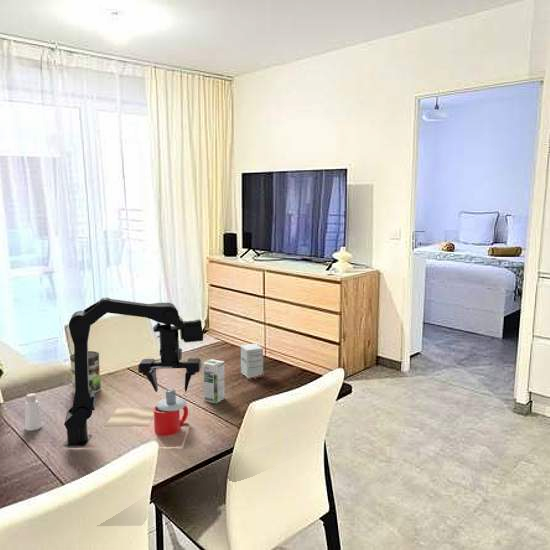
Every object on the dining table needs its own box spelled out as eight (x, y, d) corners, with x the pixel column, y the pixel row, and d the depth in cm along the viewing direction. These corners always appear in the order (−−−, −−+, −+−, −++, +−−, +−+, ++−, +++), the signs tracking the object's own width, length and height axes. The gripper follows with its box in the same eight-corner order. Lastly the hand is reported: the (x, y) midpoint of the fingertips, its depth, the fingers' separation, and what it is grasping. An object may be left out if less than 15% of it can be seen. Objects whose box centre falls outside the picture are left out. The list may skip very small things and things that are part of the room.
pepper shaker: (38, 421, 159) (35, 389, 157) (46, 426, 155) (43, 394, 154) (21, 427, 154) (18, 395, 153) (28, 432, 151) (26, 399, 149)
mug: (195, 425, 156) (194, 402, 154) (164, 439, 147) (163, 415, 145) (179, 418, 161) (179, 396, 159) (149, 431, 152) (148, 408, 150)
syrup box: (203, 401, 174) (202, 363, 172) (212, 395, 179) (211, 358, 177) (216, 404, 172) (215, 365, 169) (225, 398, 177) (224, 360, 175)
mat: (148, 427, 154) (148, 425, 154) (104, 427, 154) (104, 426, 154) (158, 408, 168) (157, 407, 168) (117, 408, 168) (117, 407, 168)
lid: (183, 411, 148) (182, 396, 147) (153, 411, 148) (153, 397, 147) (187, 399, 157) (187, 385, 156) (159, 399, 157) (159, 385, 156)
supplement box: (240, 374, 201) (240, 345, 199) (256, 371, 204) (256, 342, 202) (247, 380, 195) (246, 350, 193) (263, 377, 198) (263, 347, 196)
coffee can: (106, 386, 189) (104, 351, 186) (91, 396, 179) (89, 360, 176) (82, 384, 191) (80, 350, 188) (66, 394, 181) (63, 358, 178)
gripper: (202, 336, 157) (204, 381, 160) (145, 336, 157) (147, 382, 159) (198, 346, 146) (199, 395, 149) (136, 347, 146) (139, 395, 148)
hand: (171, 391), depth 152 cm, fingers open, 9 cm apart
